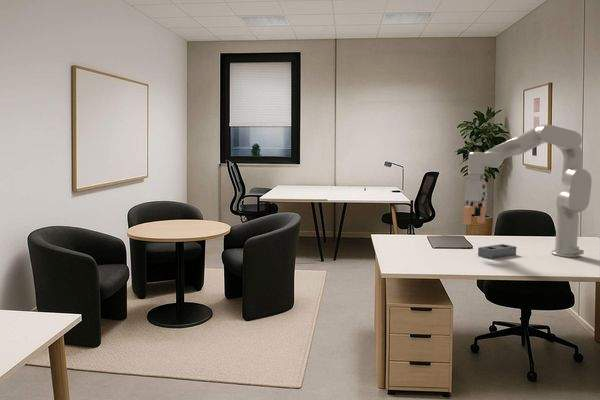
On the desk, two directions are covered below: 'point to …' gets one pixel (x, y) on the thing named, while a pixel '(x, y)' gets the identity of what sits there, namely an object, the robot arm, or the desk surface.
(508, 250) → the dark gray slotted block
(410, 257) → the desk surface
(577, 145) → the robot arm
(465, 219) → the tan block
